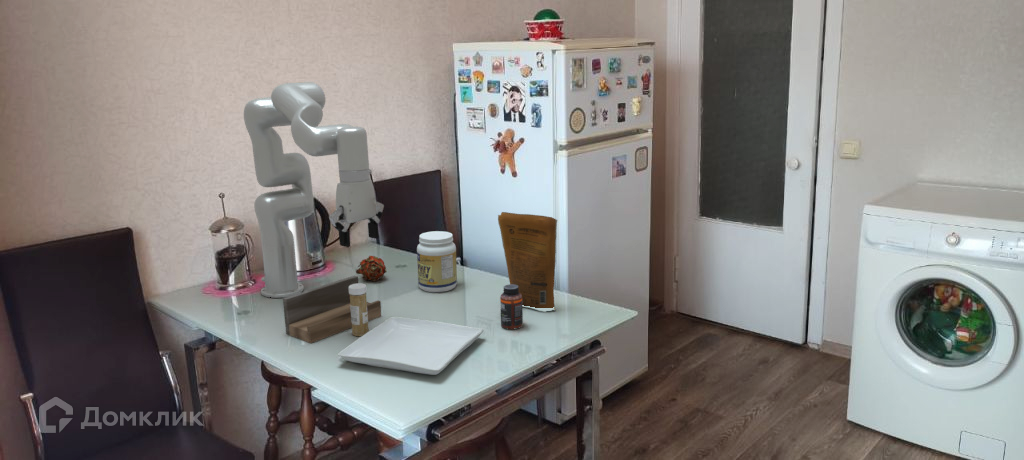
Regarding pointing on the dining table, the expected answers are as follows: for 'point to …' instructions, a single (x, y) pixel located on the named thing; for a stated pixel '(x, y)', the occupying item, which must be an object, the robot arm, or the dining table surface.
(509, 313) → the supplement bottle
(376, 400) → the dining table surface
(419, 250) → the supplement tub
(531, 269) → the pancake mix bag
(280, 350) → the dining table surface
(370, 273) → the dragon fruit
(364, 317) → the sprinkles bottle
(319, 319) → the spice rack
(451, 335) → the square plate
